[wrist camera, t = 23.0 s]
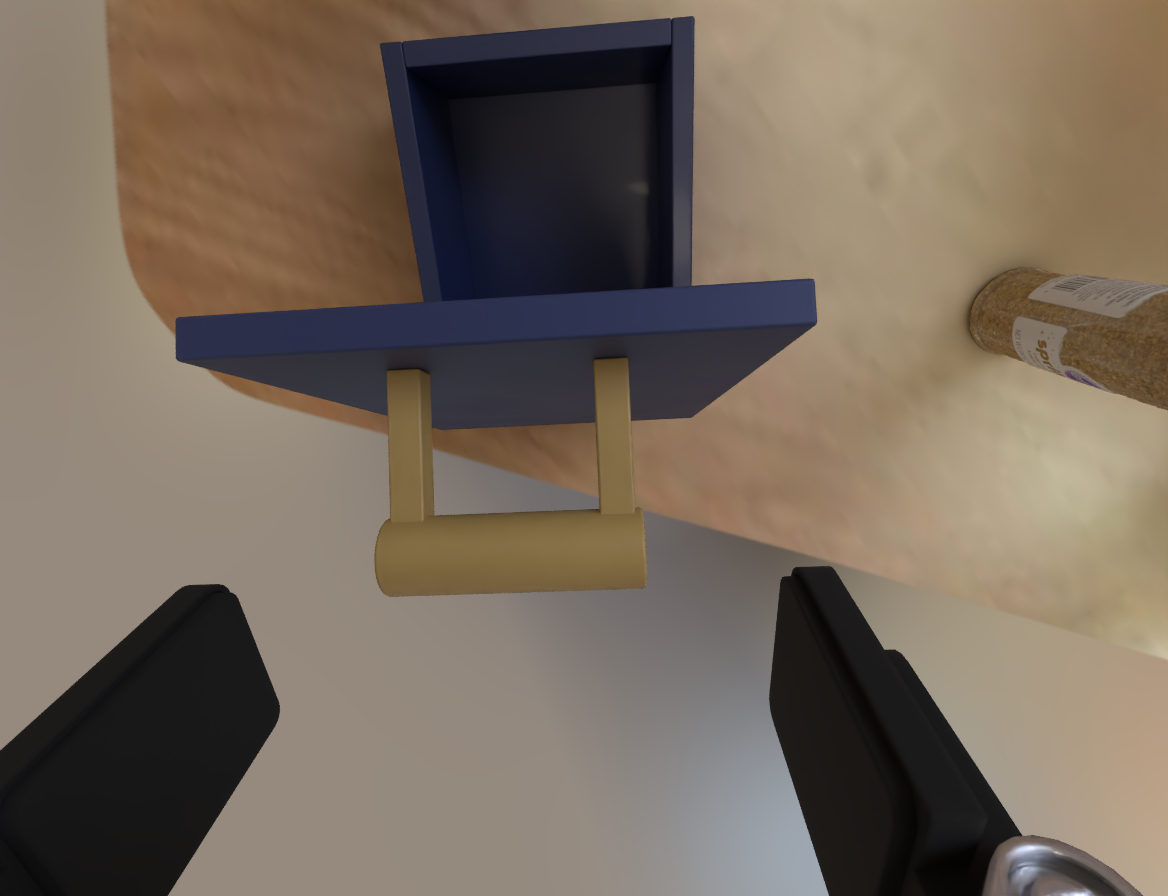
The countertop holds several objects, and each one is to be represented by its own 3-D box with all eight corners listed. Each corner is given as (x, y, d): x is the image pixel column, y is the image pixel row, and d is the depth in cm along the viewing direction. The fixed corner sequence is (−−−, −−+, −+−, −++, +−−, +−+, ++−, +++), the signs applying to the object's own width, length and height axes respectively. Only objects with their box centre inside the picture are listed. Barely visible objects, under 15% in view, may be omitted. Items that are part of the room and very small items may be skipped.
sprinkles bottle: (951, 346, 30) (1200, 441, 17) (988, 258, 28) (1294, 293, 16) (1033, 359, 30) (1338, 462, 17) (1075, 272, 28) (1447, 318, 16)
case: (433, 84, 26) (378, 42, 20) (672, 64, 25) (694, 15, 19) (475, 377, 31) (443, 417, 25) (672, 366, 31) (690, 405, 24)
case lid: (173, 315, 10) (175, 626, 9) (815, 276, 9) (837, 606, 9) (440, 412, 25) (444, 533, 24) (691, 399, 24) (697, 524, 24)
